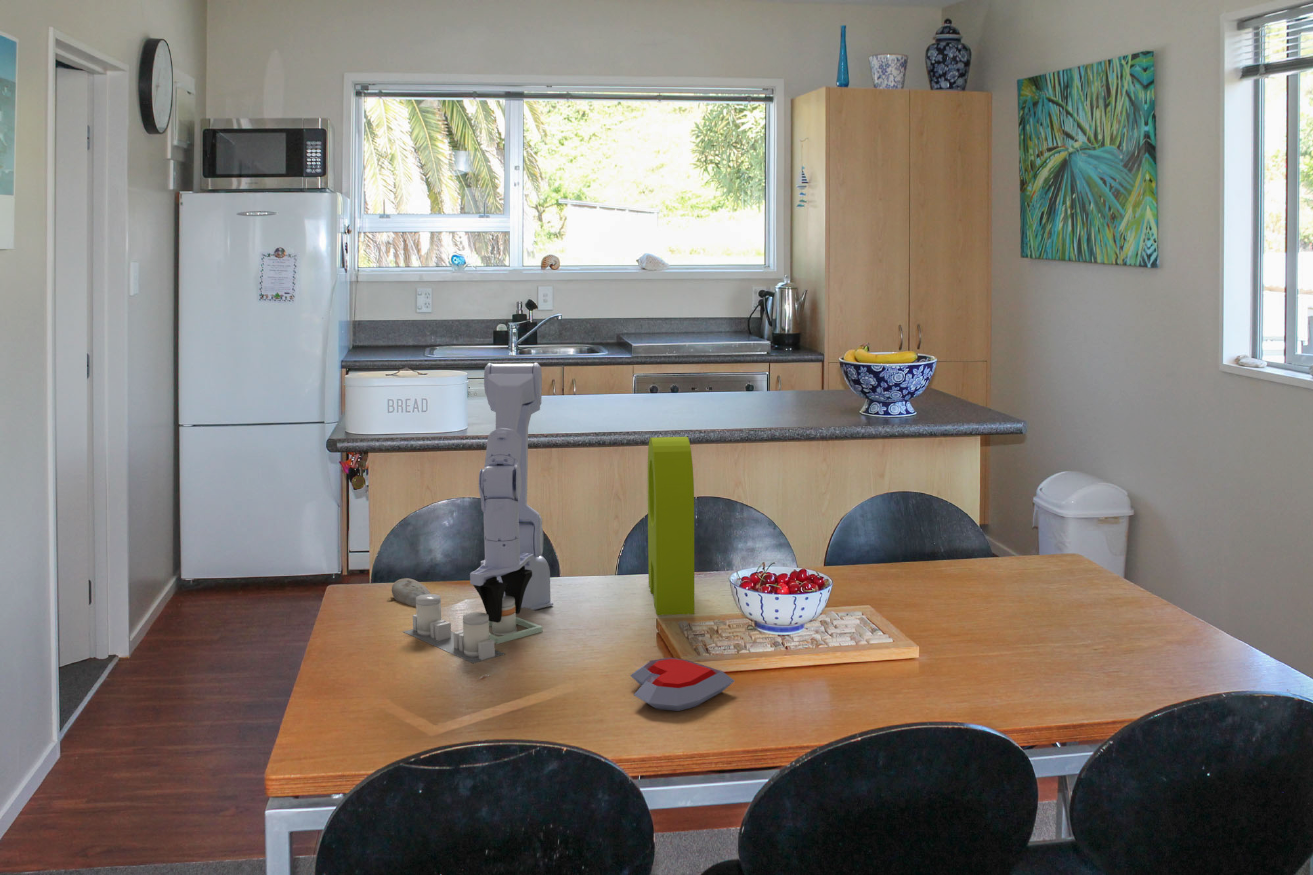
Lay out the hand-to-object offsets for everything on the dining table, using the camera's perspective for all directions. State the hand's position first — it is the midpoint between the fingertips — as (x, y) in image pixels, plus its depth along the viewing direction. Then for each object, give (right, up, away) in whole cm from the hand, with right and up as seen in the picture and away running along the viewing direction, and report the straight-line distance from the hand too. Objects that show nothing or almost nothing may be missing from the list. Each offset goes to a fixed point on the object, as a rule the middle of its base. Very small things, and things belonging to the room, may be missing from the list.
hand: (504, 616), depth 195 cm
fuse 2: (-3, -4, -10) cm, 12 cm away
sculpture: (+29, -8, -25) cm, 39 cm away
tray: (0, -3, +1) cm, 3 cm away
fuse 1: (-12, -3, 0) cm, 13 cm away
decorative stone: (-20, -1, +20) cm, 28 cm away
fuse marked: (0, -3, 0) cm, 3 cm away
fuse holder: (-8, -4, -5) cm, 10 cm away
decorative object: (+28, 0, +22) cm, 35 cm away
